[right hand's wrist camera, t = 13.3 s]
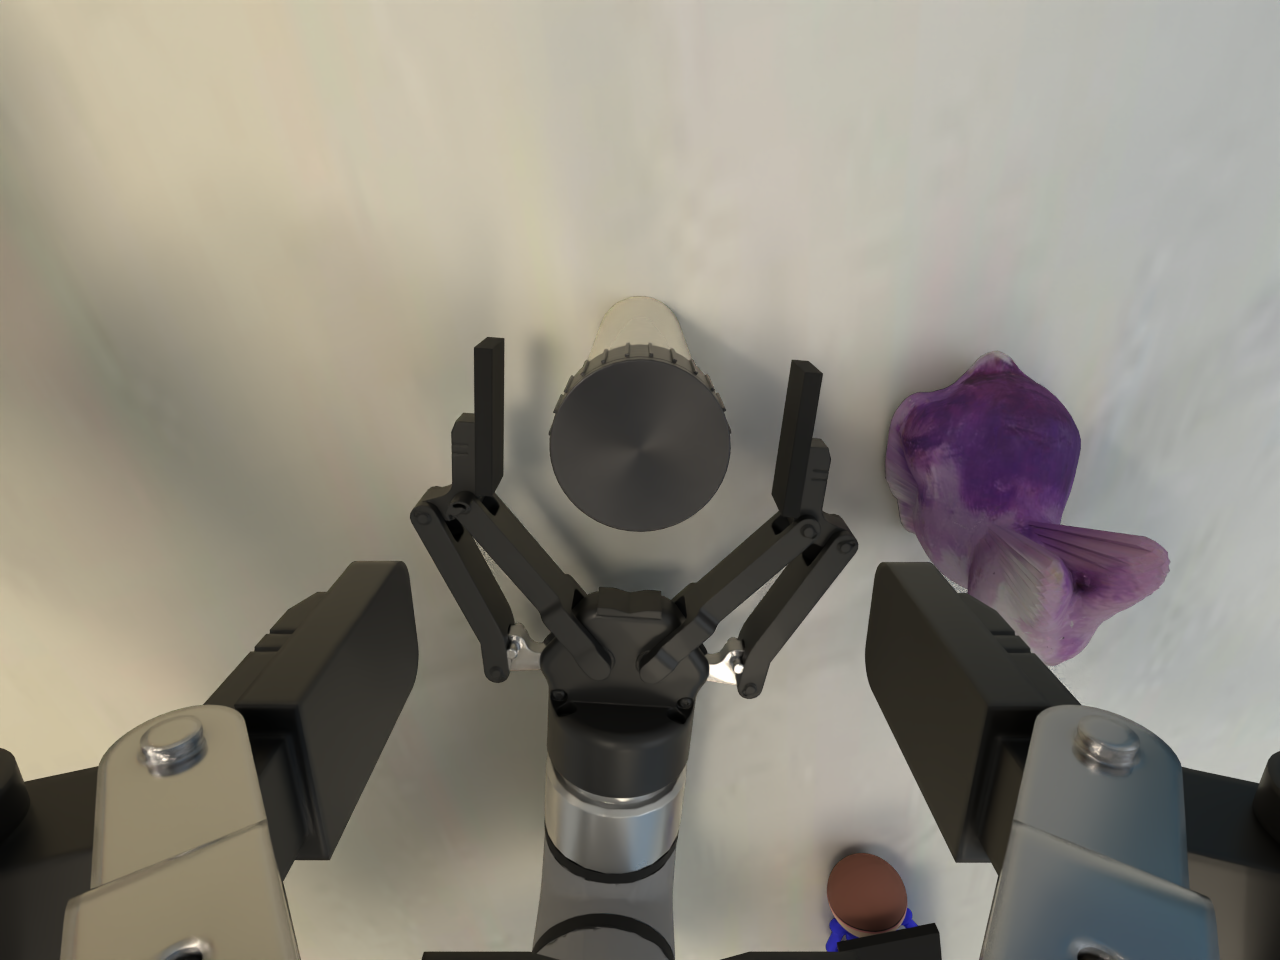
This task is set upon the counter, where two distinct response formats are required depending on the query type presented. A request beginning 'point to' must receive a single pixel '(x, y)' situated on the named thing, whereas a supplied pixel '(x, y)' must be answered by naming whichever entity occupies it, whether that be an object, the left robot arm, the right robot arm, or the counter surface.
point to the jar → (639, 327)
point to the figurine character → (875, 913)
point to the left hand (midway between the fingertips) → (649, 353)
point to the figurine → (1012, 508)
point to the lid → (640, 438)
